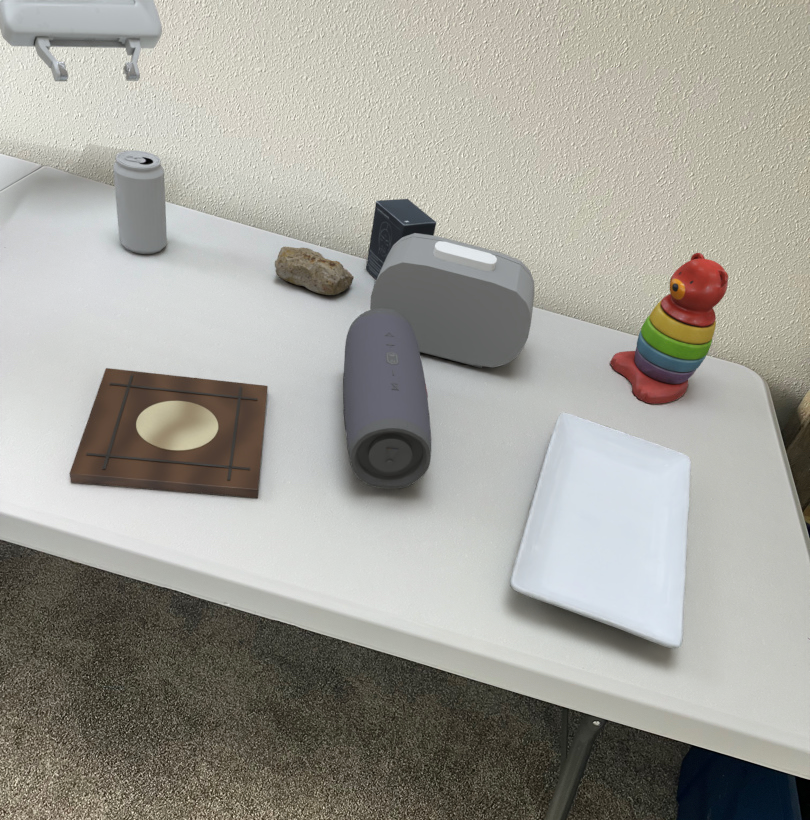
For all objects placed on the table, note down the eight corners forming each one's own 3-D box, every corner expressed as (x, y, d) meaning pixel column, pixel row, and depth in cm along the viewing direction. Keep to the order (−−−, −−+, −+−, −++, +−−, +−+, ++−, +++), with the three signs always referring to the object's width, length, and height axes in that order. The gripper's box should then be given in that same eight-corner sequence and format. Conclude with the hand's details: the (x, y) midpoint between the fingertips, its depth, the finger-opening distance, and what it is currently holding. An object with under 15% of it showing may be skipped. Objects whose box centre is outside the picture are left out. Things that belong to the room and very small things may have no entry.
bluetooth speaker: (425, 502, 84) (446, 428, 77) (339, 494, 82) (351, 418, 75) (410, 379, 99) (426, 309, 92) (337, 371, 98) (347, 298, 91)
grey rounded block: (518, 344, 110) (547, 254, 101) (513, 380, 104) (544, 287, 94) (377, 308, 110) (393, 214, 101) (363, 341, 104) (379, 245, 94)
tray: (681, 474, 96) (694, 453, 93) (668, 670, 73) (684, 648, 71) (550, 430, 97) (559, 408, 95) (497, 609, 75) (507, 585, 72)
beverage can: (163, 259, 109) (160, 171, 101) (115, 253, 108) (108, 163, 99) (169, 238, 113) (167, 152, 105) (123, 232, 112) (116, 145, 104)
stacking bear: (604, 359, 112) (654, 240, 99) (662, 358, 115) (718, 242, 103) (641, 405, 105) (700, 283, 93) (702, 402, 108) (767, 284, 96)
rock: (338, 305, 109) (342, 276, 106) (264, 281, 110) (265, 252, 107) (355, 282, 114) (360, 254, 111) (284, 259, 115) (287, 231, 112)
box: (423, 291, 116) (437, 221, 109) (390, 295, 114) (403, 224, 106) (396, 265, 120) (408, 197, 113) (364, 269, 118) (375, 199, 110)
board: (70, 482, 76) (68, 472, 75) (106, 376, 89) (105, 366, 88) (257, 498, 79) (258, 489, 78) (267, 394, 92) (267, 384, 91)
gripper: (-20, -56, 93) (17, 67, 96) (148, -44, 103) (178, 68, 106) (-23, -25, 99) (12, 91, 101) (136, -16, 109) (165, 89, 111)
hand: (98, 79), depth 104 cm, fingers open, 8 cm apart
